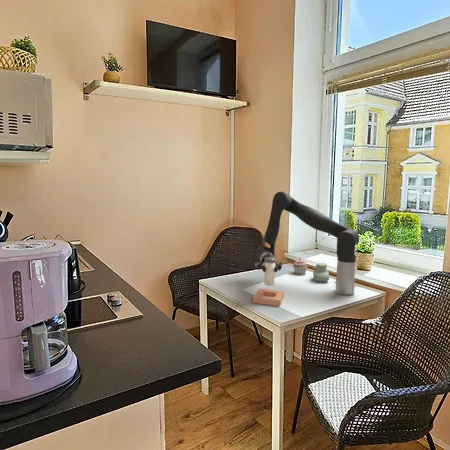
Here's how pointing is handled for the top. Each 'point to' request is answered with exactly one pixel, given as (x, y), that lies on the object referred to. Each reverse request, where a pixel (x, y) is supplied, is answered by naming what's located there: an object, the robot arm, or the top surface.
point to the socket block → (269, 297)
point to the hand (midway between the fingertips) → (270, 270)
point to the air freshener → (321, 273)
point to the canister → (269, 271)
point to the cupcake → (300, 266)
